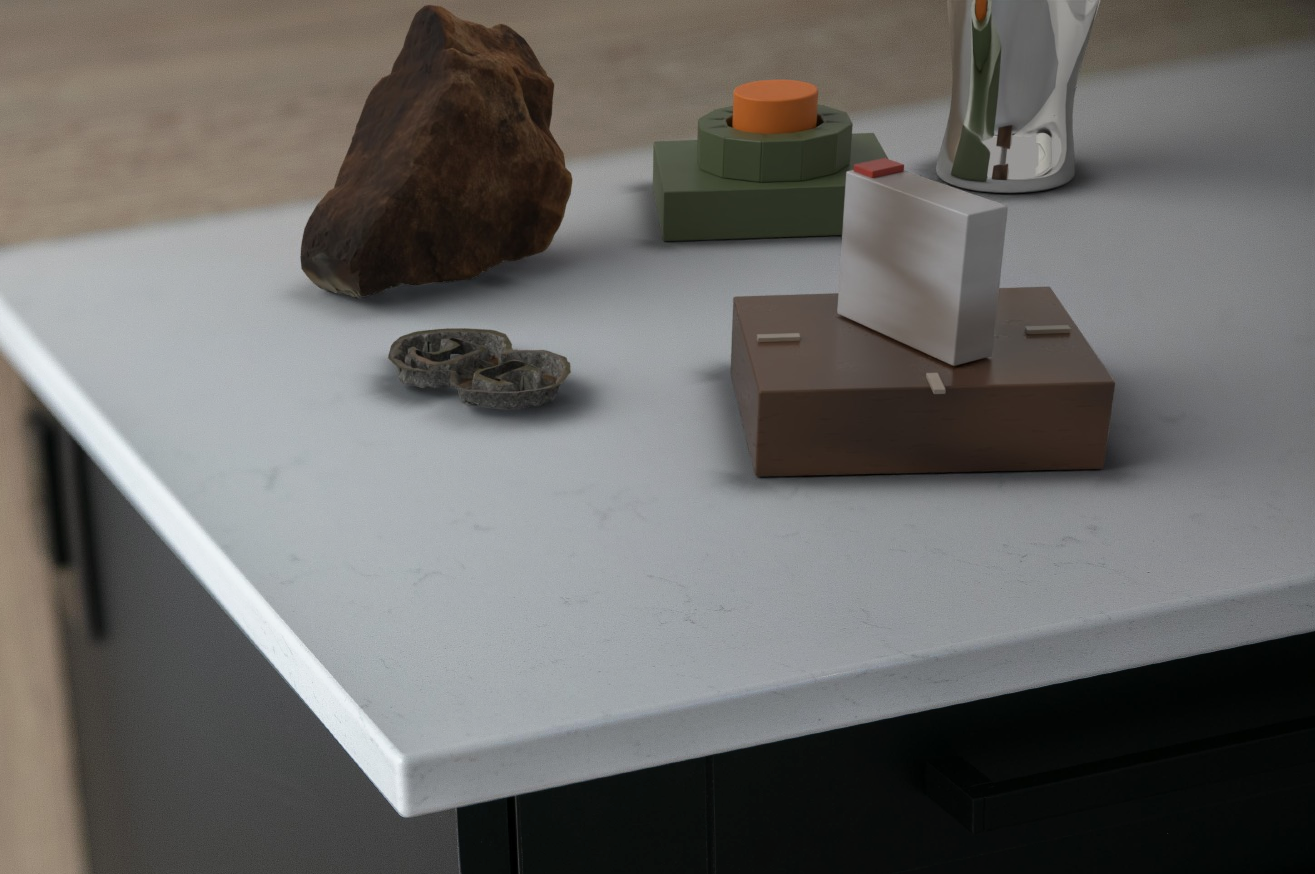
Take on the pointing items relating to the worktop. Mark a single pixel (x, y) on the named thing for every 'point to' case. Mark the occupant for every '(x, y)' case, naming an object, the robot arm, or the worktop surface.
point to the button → (775, 106)
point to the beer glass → (1013, 93)
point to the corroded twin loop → (479, 367)
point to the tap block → (915, 392)
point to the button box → (757, 179)
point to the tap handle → (921, 261)
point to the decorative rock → (443, 165)
